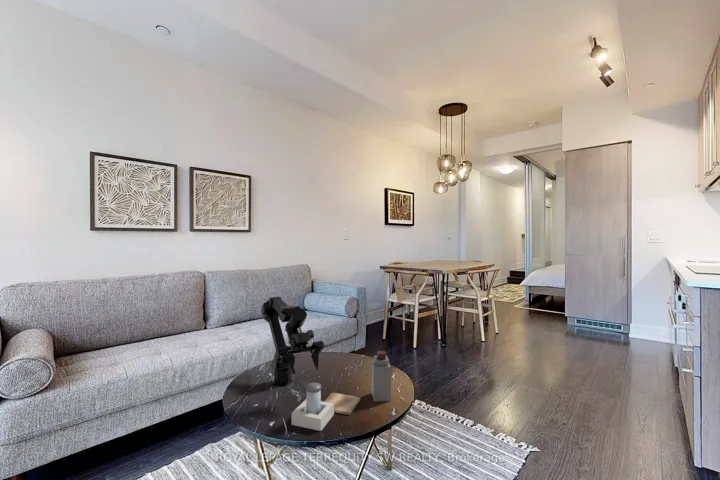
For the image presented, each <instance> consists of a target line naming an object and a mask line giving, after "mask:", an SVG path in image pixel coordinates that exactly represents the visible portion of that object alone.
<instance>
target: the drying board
mask: <svg viewBox="0 0 720 480" xmlns="http://www.w3.org/2000/svg"><path fill="white" fill-rule="evenodd" d="M323 402H328V403H334V413H336V414H337V413H338V414H342V415H346V416H347V415H348V416H350V415H351V414H352V413H353V411H354V409H355V408H356V407H357V405H358V404H359V402H361V396H360V397H359V396H355V395H349V394H343V393H338V392H331V393H330V394H329V396H328V397H327V398H325V400H324V401H323Z"/></svg>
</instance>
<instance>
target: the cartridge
mask: <svg viewBox="0 0 720 480" xmlns="http://www.w3.org/2000/svg"><path fill="white" fill-rule="evenodd" d="M321 390H322V384H321V383H319V382H308V383H307V384H306V386H305V393H306V396H305V400H306V413H311V414H315V415H319V413H320V412H321V401H322V399H321V398H322V396H321V393H322V391H321Z"/></svg>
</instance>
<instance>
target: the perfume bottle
mask: <svg viewBox="0 0 720 480" xmlns="http://www.w3.org/2000/svg"><path fill="white" fill-rule="evenodd" d="M373 358H374V360H372V361H371V397H372V400H373V403H374V402H391V400H392V398H391V397H392V394H391V393H392V366H391V364H390V359H389V358H388V355H387V352H386V351H385V350H378V351H376V355H373Z"/></svg>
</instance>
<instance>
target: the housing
mask: <svg viewBox="0 0 720 480" xmlns="http://www.w3.org/2000/svg"><path fill="white" fill-rule="evenodd" d="M334 415H335V412H334V403H328V402H324V401H323V400H321V412H320V413H319V415H315V414H311V413H306V399H305V400H303V401H302V402H301V403H300V405H299V406H297V407H296V408H295V409H294V410H293V411H292V412H291V426H295V427H300V428H305V429H309V430H310V429H311V430H314V431H320V432H321V431H323V429H324V428H325V426H326V425H327V424H328V423H329V421H330V420H332V417H333V416H334Z"/></svg>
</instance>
